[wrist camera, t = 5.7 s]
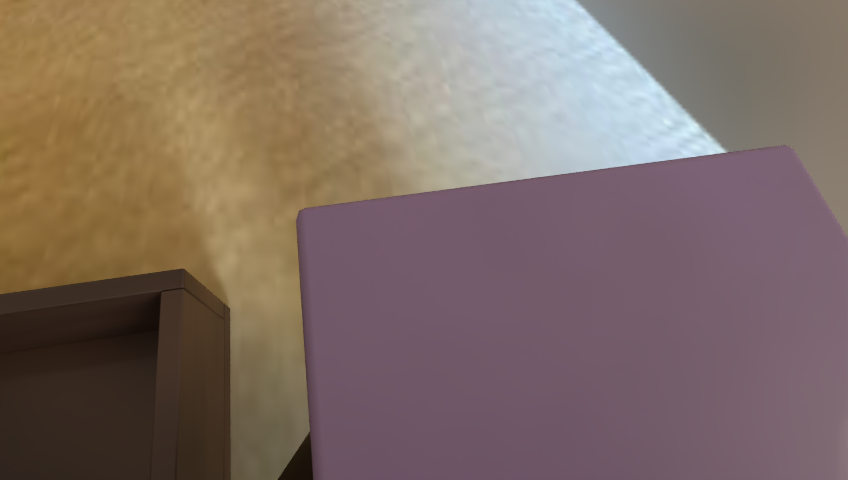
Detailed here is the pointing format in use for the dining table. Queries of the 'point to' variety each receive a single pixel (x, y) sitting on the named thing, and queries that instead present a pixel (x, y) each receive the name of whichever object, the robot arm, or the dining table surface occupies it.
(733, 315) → the block
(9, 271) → the dining table surface
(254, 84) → the dining table surface
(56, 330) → the tray
